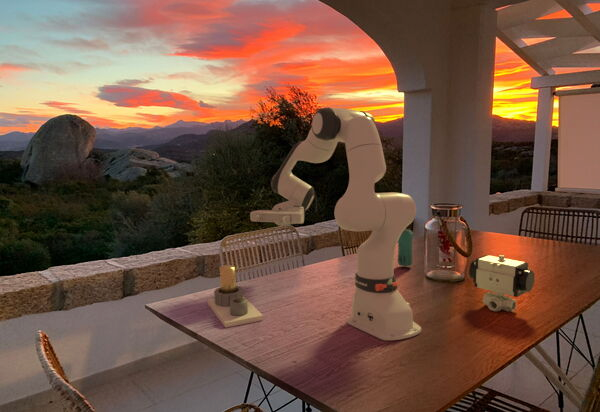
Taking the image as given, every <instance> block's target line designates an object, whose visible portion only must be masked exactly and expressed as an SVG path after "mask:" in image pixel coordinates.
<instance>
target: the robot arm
mask: <svg viewBox="0 0 600 412" xmlns="http://www.w3.org/2000/svg"><path fill="white" fill-rule="evenodd" d="M378 131H379V130H378V128H377V126H376V121H375V118H374V116H373V115H372V114H371V113H368V112H366V111H362V110H360V111H359V110H355V109H348V108H344V107H343V108H342V107H332V108H331V107H328V106H327V107H322V108H319V109H317V110H316V111H315V112H314V114H313V116H312V120H311V127H310V130H309V132H308V134H307V137H306V139H305V140H300V141H298V142H297V143H295V144H294V146H293V147H292V148H291V150H290V151H289V152H288V154H287V156H286V157H285V158H284V160H283V162H282V163H281V165H280V167H279V169H278V170H277V171H276V173H275V174H274V176H272V178H271V181H270V186H271V190H272V191H273V193H275V194H278V195H279V196H282V197H283V198H284V199H287V201H284V202H280V203H277V204H275V205H274V206H273V207H272V209H270V210H269V209H257V210H253V211H251V212H250V213H249V217H250V221H251V222H260V223H274V224H275V225H277V226H279V227H284V226H289V225H300V224H304V222H305V212H306V211H308V209H310V207H312V204H313V203H314V201H315V194H316V193H315V188H314V187H313V186H311V185H310V184H308V183H307V182H305V181H303V180H302V179H300V178H299V177H297V176H296V175H294V174H293V172H292V170H293V168H294V167H295V166H296V164H297V162H298V161H303V162H307V163H311V164H312V163H313V164H321V163H324V162H325V163H326V161H328V160H330V158H331V157H332V156H333V154H334V152H335V150H336V148H337V147H338V146H337V145H338V143H339V142H340V143H344V146H345V153H346V158H347V164H348V174H349V178H348V179H349V180H348V186H347V189H346V191H345V193H344V194H343V195H341V196H342V197H340V198H339V199H338V200H337V202H336V205H335V207H334V211H333V212H334V218H335V219H334V220H335V222H336V224H337V225H338V226H339V228H340V229H342V230H345V231H352V232H368V231H371V234H370V236H369V237H368V238H367V239H366V240H365V241H363V242H362V243H361V244H360V245H359V246H358V247H357V251H356V273H355V277H354V281H355V282H354V283H355V291H354V294H353V295H352V299H351V301H352V302H351V309H350V311H351V312H350V317H349V318H348V319H347V324H348V325H350V326H352V327H354V328H355V329H359V330H360V331H362V332H365V333H366V334H369V335H371V336H372V337H374V338H375V337H376V338H377V339H380V340H382V341H398V340H399V341H400V340H404V339H409V338H412V337H415V336H417V335H419V334H420V333H422V330H423V329H422V327H421V326H420V325H419V324H418V323H416V322H415V321H414V318H413V317H414V316H413V310H412V308H411V304H410V303H409V302H407V301H406V299H404V297H403V295H402V294H401V293H400V291H399V290H398V286H400V284H399V283H400V281H397V280H396V276H395V273H394V269H395V268H394V267H395V253H396V249H397V245H398V240H399V238H400V236H401V234H402V232H403V231H404V230H406V229H407V228H406V227H407V226H408V225H409V224H412V223H413V222H414V219H416V215H417V205H416V203H415V201H414V199H413V197H412V196H410V194H407V193H401V192H394V191H393V192H392V191H391V192H375V184H376V183H378V182H379V181H380V180H381V179H382V178H384V176H385V174H386V171H387V164H386V159H385V155H384V154H385V153H384V151H383V145H382V142H381V137H380V135H379V134H380V133H379V132H378Z"/></svg>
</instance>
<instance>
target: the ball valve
mask: <svg viewBox="0 0 600 412" xmlns="http://www.w3.org/2000/svg"><path fill="white" fill-rule="evenodd" d="M468 274H469V278H470V279H472V282H473V283H474V286H473V287H475V288H477V289H482V290H487V291H489V292H485V293H484V294H483V297H482V302H483V304H484V305H486V306H487V308H488V309H489V310H490V311H491V312H492V311H493V312H500V311H501V310H502V311H505V312H514V311H515V310H516V308H517V300H516V299H513V298H512V297H515V298H518V297H520V296H522V295H524V294H526V293H530V292H531V291H532V290H533V287H534V285H535V279H536V278H535V277H536V276H535V272H534V270H530V267H529V262H526V261H519V260H515V259H510V258H505V255H502V254H499V255H498V256H494V255H488V254H485V255H482V256H479V257H477V258H475V259H473V260H472V261H471V263H470V265H469V269H468Z"/></svg>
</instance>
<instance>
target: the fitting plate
mask: <svg viewBox="0 0 600 412" xmlns="http://www.w3.org/2000/svg"><path fill="white" fill-rule="evenodd" d="M213 292H214V293H213V294H214V298H209V299H207V305H208V307H209V308H210V309H211V310H212V312H213V313H214V315H215V316H216V317H217V318H218V320H219V321H220V322H221V324H222V325H223V326H224V327H225V328H230V327H236V326H240V325H245V324H250V323H255V322H260V321H263V320H264V314H262V313H261V311H259V310H258V309H257V308H256V307H255V306H254V304H252V303H251V302H250V301H249V300H248V299H247V298H246V297H245V296H244V289H243V288H242V287H241V286H239V285H236V292H235V293H230V294H223V293H221V286H220V287H217V288H216V289H215V290H214V291H213Z"/></svg>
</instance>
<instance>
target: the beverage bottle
mask: <svg viewBox="0 0 600 412" xmlns="http://www.w3.org/2000/svg"><path fill="white" fill-rule="evenodd" d="M411 224H412V223H411ZM411 224H409V225H408V226H407V227H406V228H405V230H404V231H403V232H402V234H401V236H400V238H399V240H398V242H397V245H398V246H397V248H398V249H397V264H398V265H399V266H400V267H401V266H402V267H410V266H413V257H414V256H413V255H414V254H413V253H414V249H413V244H414V240H413V239H414V233H413V232H412V230H410V229H411V228H412V226H411Z"/></svg>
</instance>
